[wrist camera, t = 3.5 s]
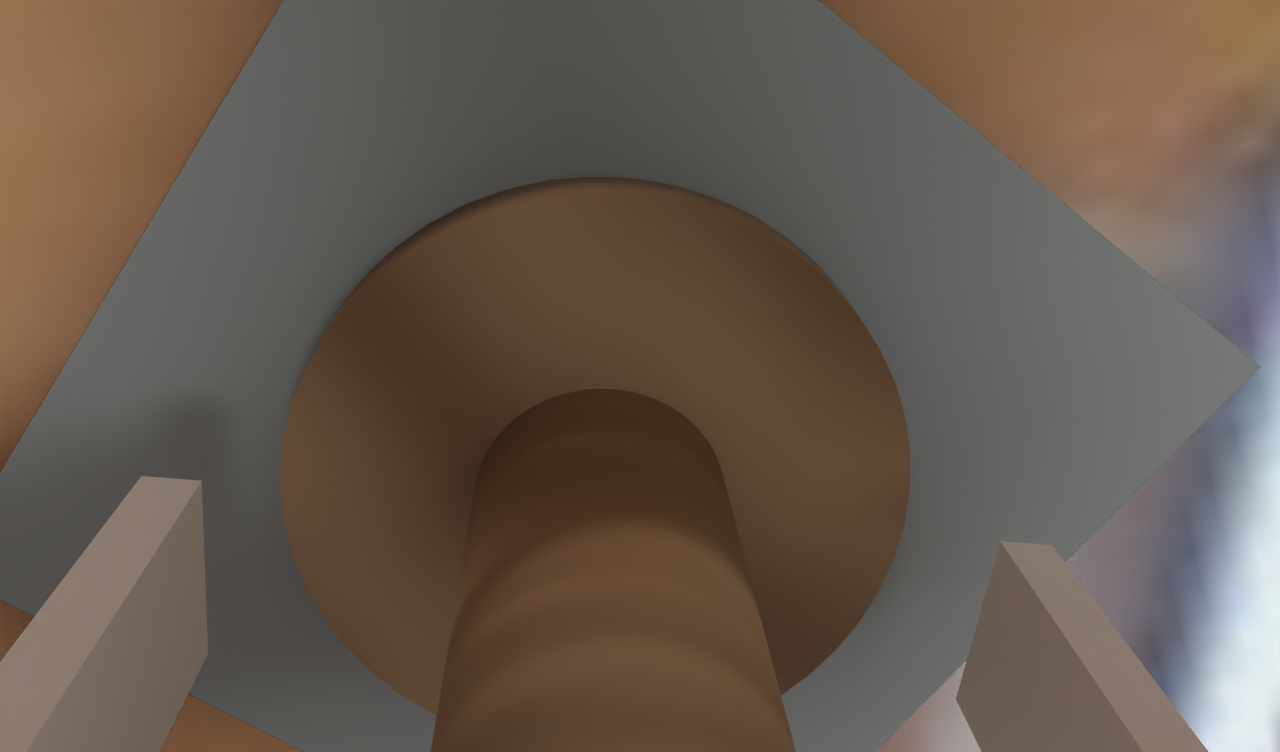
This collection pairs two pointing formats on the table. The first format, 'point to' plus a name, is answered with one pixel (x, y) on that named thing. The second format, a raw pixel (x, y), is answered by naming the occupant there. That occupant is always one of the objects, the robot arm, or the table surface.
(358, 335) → the lid
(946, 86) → the table surface
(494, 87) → the mat
